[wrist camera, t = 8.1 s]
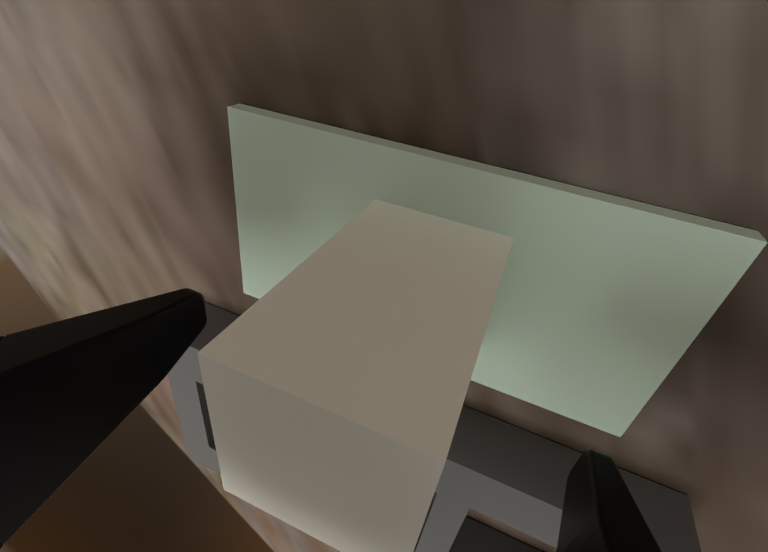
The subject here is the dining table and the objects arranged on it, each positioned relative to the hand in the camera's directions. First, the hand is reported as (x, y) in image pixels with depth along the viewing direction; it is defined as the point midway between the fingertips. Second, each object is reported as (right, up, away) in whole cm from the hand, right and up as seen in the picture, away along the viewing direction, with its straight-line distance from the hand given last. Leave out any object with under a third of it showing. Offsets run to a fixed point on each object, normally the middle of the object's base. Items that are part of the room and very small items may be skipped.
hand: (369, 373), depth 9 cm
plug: (+2, +2, +3) cm, 4 cm away
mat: (+2, +2, +4) cm, 5 cm away
